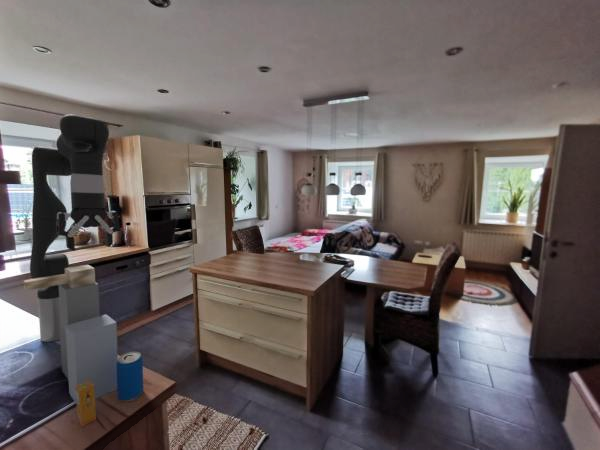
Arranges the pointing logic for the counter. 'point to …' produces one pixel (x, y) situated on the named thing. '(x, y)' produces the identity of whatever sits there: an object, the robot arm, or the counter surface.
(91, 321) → the grey tall block
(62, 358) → the tall tower
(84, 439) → the counter surface
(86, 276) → the mallet
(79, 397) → the supplement box
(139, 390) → the beverage can
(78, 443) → the counter surface
